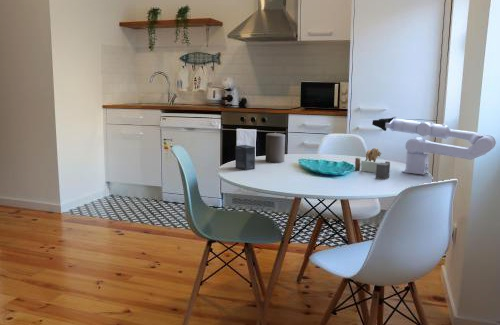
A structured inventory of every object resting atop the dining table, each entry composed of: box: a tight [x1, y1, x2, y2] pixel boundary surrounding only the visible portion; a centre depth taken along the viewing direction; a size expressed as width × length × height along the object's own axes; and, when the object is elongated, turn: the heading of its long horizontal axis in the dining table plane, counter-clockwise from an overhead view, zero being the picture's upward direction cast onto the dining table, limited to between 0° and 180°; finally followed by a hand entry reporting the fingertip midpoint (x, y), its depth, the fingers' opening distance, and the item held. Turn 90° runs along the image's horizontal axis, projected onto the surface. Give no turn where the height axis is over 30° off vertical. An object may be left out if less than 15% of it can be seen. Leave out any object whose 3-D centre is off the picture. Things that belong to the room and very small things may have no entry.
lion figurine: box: [364, 147, 382, 162], centre depth 230 cm, size 15×5×9 cm, turn 8°
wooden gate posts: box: [354, 157, 391, 172], centre depth 212 cm, size 16×2×6 cm, turn 54°
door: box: [360, 160, 380, 173], centre depth 212 cm, size 10×2×4 cm, turn 54°
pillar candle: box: [265, 131, 286, 164], centre depth 236 cm, size 10×10×15 cm
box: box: [235, 144, 256, 171], centre depth 218 cm, size 8×6×11 cm
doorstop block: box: [375, 162, 391, 180], centre depth 201 cm, size 4×5×6 cm
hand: (375, 121), depth 221 cm, fingers open, 7 cm apart
